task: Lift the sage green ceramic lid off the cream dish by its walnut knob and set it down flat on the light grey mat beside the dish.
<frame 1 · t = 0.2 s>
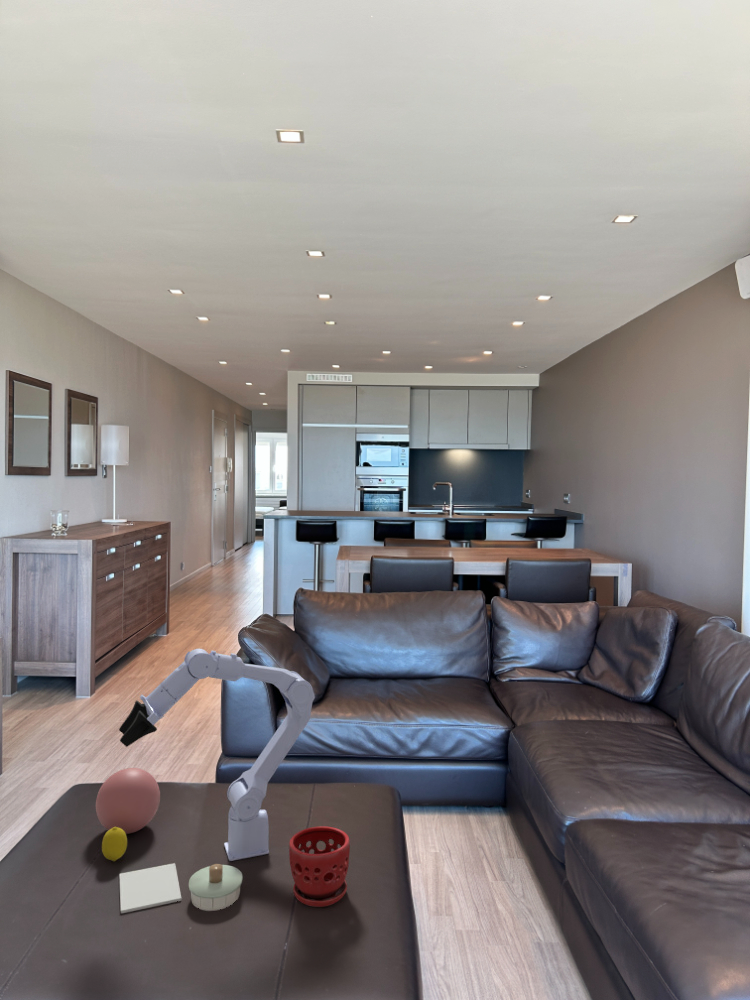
hand: (122, 738, 148), 31 cm above the table, tool tilted 45°, fingers open, 7 cm apart
mat: (149, 888, 144), on the table
lemon: (114, 861, 154), on the table
balloon: (130, 826, 170), on the table
dish: (215, 896, 141), on the table
plant pot: (318, 894, 143), on the table
lid: (215, 882, 141), point 3 cm above the table, touching dish
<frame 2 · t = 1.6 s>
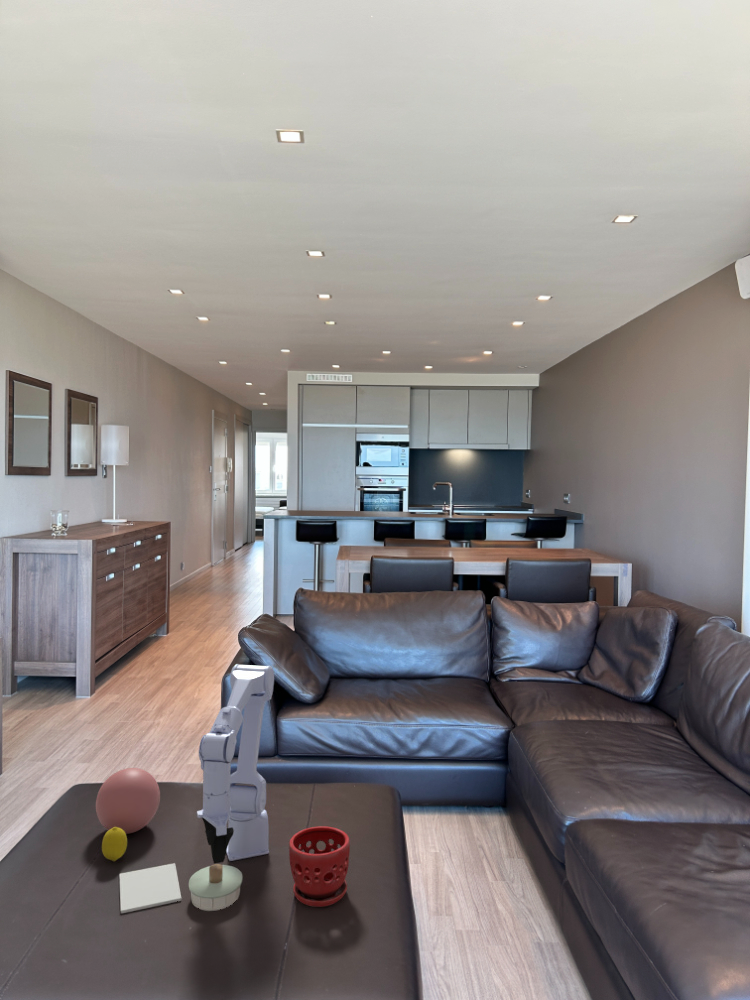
hand: (215, 852, 141), 9 cm above the table, tool pointing down, fingers open, 7 cm apart
nothing on the table moved.
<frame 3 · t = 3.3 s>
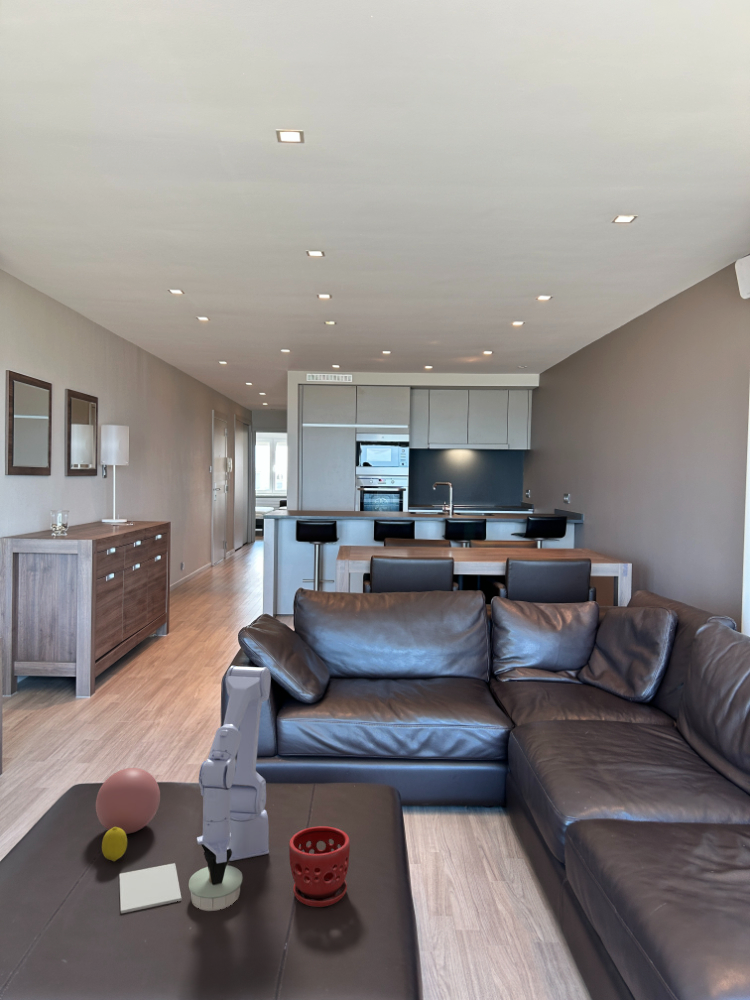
hand: (215, 878, 141), 4 cm above the table, tool pointing down, fingers closed on lid, 3 cm apart
lid: (215, 882, 141), point 3 cm above the table, touching dish, gripper
everything else where it was.
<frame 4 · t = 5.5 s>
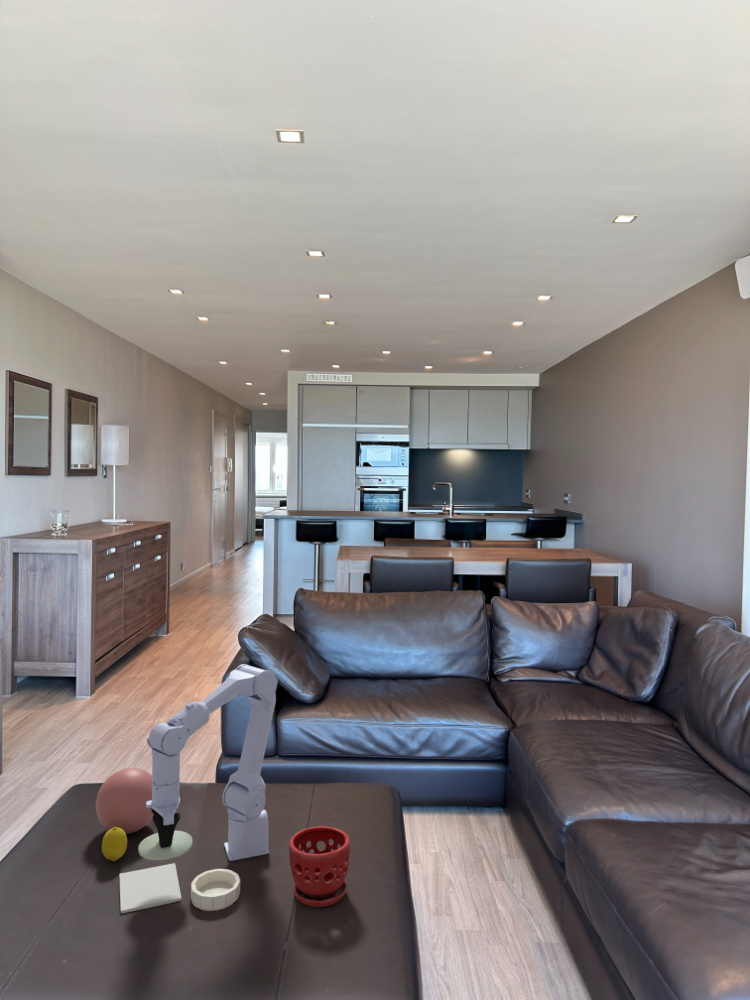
hand: (165, 842, 143), 10 cm above the table, tool pointing down, fingers closed on lid, 3 cm apart
lid: (165, 846, 143), point 10 cm above the table, touching gripper
everything else where it was.
when the fingers open (3 cm above the table, at t = 7.9 s): lid drops 1 cm, resting on mat.
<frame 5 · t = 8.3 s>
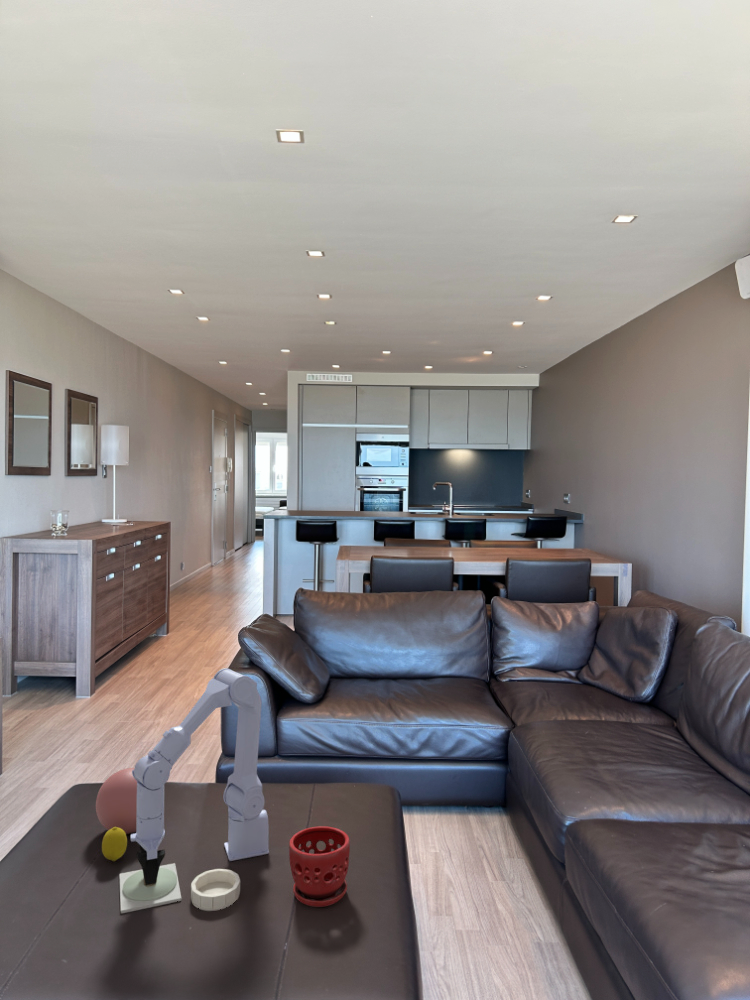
hand: (149, 875, 144), 3 cm above the table, tool pointing down, fingers open, 6 cm apart
lid: (150, 885, 144), point 1 cm above the table, touching mat
everything else where it was.
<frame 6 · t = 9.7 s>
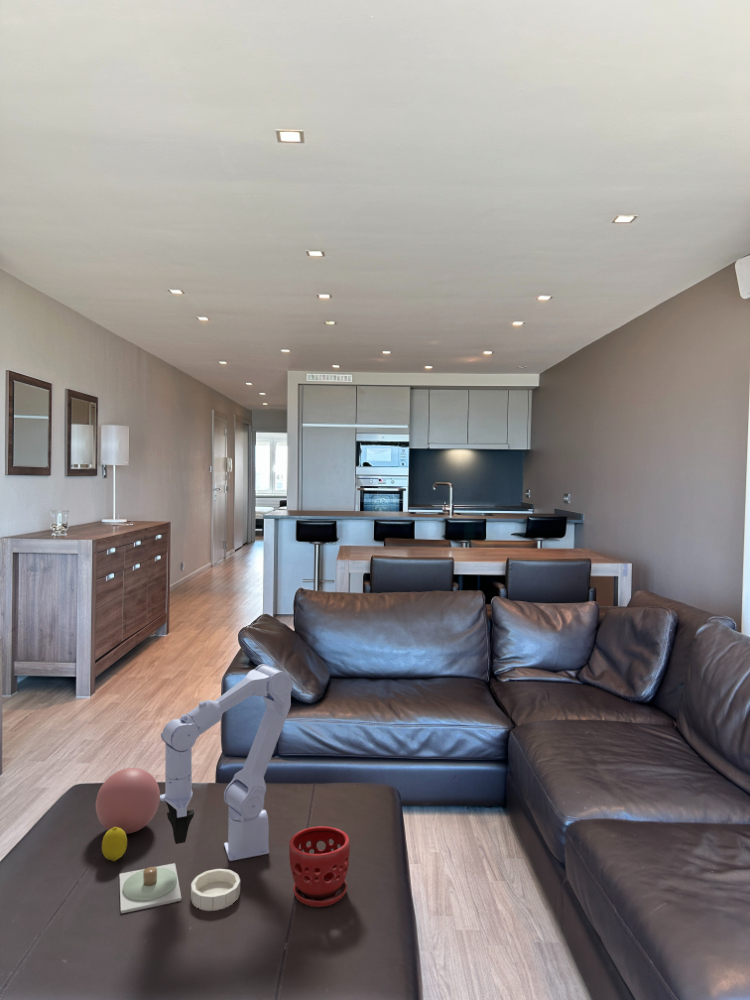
hand: (178, 834, 149), 9 cm above the table, tool pointing down, fingers open, 7 cm apart
nothing on the table moved.
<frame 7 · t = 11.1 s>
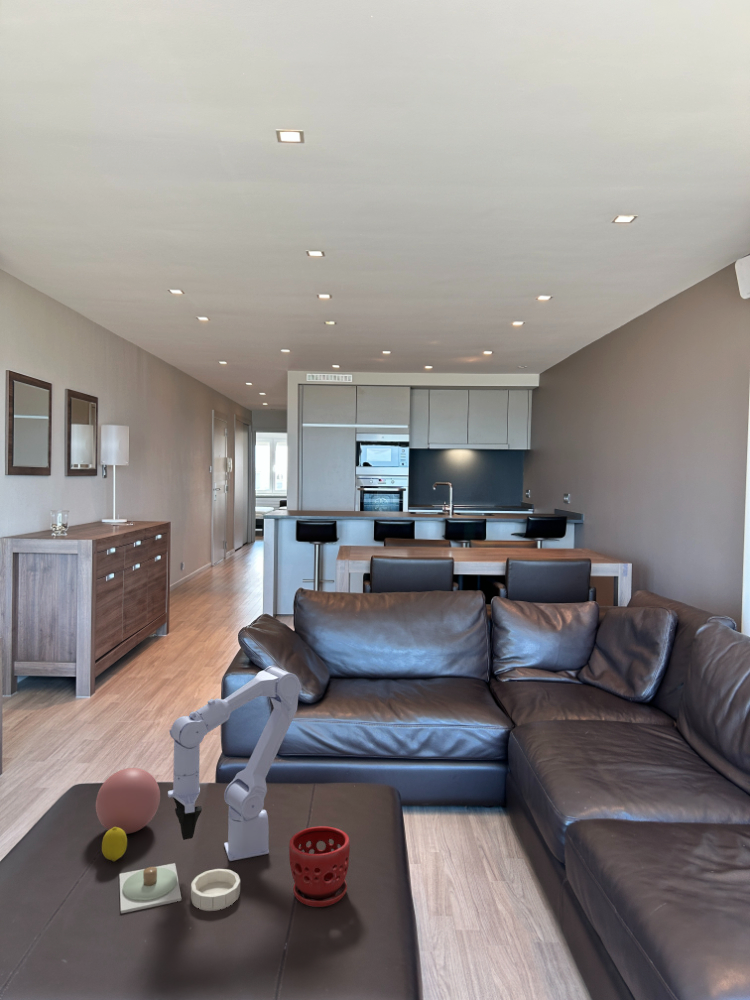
hand: (185, 830, 150), 9 cm above the table, tool pointing down, fingers open, 7 cm apart
nothing on the table moved.
at the end: lid inside the target area on the mat (0.1 cm from its centre), point 0.6 cm above the mat's base; lid tilted 1°; the gripper is holding nothing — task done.
